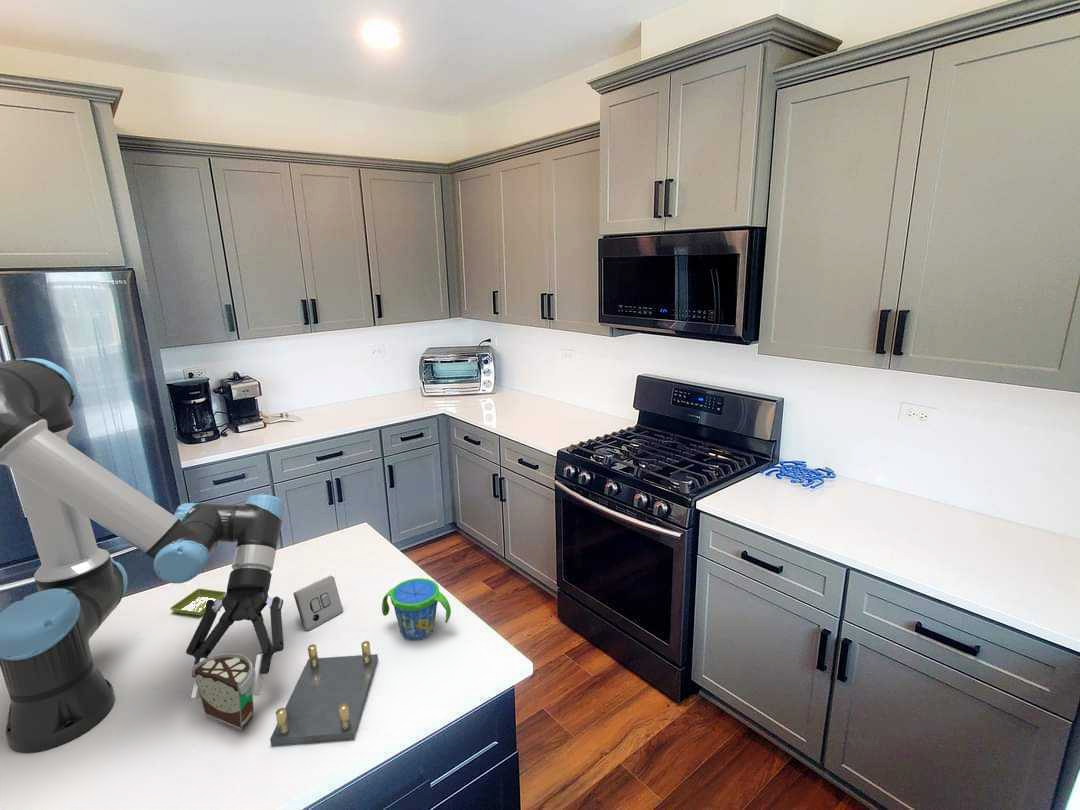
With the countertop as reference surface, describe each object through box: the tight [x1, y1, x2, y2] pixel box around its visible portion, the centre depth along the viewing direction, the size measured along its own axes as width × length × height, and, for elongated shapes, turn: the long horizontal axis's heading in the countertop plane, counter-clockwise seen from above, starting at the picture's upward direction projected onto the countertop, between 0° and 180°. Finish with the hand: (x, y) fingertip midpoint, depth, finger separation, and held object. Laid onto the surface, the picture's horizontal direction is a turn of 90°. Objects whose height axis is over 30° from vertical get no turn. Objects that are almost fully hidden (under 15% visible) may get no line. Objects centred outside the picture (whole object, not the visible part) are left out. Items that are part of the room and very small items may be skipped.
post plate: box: [269, 640, 379, 747], centre depth 105 cm, size 14×20×6 cm
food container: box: [191, 652, 255, 731], centre depth 101 cm, size 12×6×10 cm, turn 68°
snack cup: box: [381, 577, 452, 641], centre depth 123 cm, size 16×10×10 cm
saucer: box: [169, 588, 227, 616], centre depth 135 cm, size 9×9×2 cm
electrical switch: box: [293, 575, 344, 631], centre depth 129 cm, size 9×5×9 cm, turn 141°
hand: (226, 696), depth 100 cm, fingers closed on food container, 9 cm apart
